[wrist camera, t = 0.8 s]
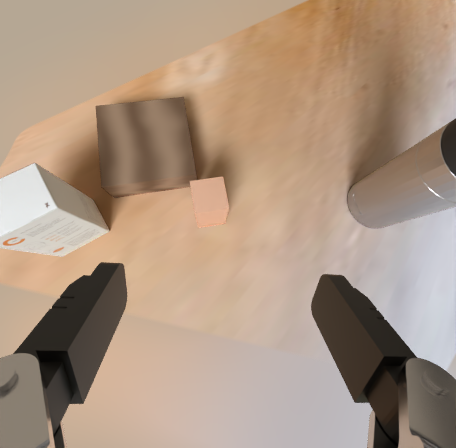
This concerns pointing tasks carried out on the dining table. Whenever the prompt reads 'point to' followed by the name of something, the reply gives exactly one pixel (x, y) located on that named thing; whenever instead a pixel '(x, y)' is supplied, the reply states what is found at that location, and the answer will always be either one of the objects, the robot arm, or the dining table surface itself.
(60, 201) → the small box
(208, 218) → the terracotta block
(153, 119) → the walnut block
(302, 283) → the dining table surface
